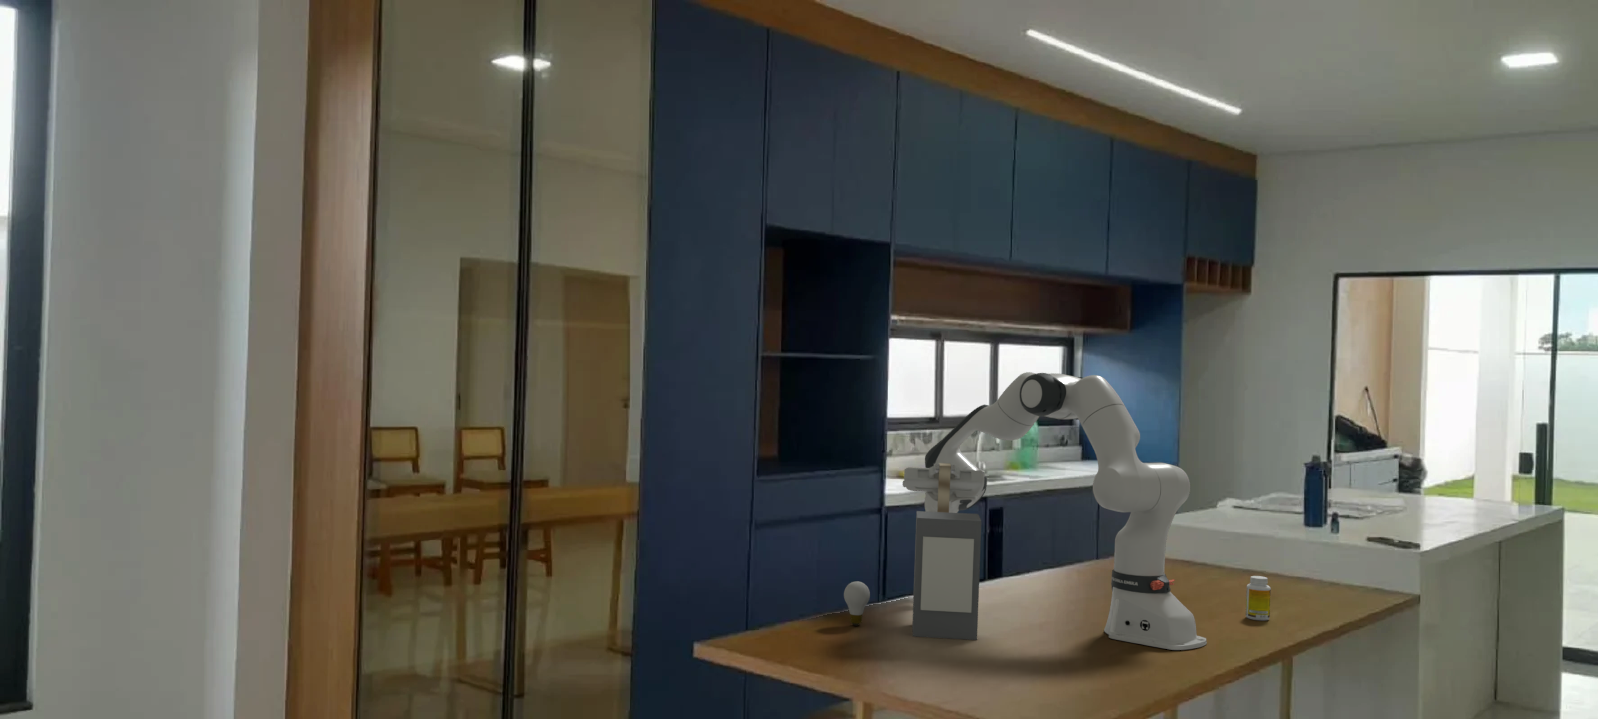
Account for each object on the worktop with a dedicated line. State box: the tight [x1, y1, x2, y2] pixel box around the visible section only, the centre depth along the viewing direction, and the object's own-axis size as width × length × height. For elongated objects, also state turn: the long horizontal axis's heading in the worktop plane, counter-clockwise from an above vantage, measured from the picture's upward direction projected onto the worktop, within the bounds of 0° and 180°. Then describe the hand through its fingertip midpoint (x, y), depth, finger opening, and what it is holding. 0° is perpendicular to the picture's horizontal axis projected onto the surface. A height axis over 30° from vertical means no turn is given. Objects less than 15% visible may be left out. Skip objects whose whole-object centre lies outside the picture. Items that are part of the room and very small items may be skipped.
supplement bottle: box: [1245, 575, 1272, 622], centre depth 296 cm, size 6×6×10 cm
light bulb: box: [843, 580, 871, 627], centre depth 272 cm, size 6×6×10 cm
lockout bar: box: [937, 463, 951, 513], centre depth 301 cm, size 22×4×4 cm
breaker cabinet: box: [911, 510, 982, 641], centre depth 268 cm, size 13×14×26 cm
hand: (945, 466), depth 298 cm, fingers closed on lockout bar, 3 cm apart
